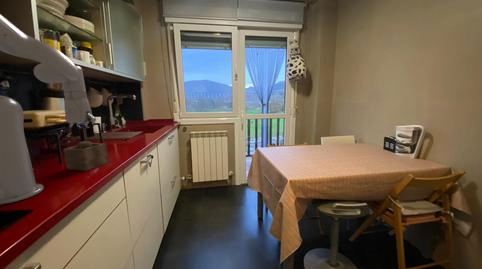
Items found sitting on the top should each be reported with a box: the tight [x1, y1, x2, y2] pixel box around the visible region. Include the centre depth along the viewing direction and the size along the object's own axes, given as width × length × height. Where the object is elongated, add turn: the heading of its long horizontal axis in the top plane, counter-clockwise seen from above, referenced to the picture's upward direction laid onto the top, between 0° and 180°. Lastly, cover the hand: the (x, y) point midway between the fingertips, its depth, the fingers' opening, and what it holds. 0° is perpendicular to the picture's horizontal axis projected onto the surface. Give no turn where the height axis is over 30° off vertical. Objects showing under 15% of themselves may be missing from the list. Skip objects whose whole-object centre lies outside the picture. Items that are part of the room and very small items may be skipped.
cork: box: [77, 140, 93, 149], centre depth 94 cm, size 6×6×11 cm
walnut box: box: [62, 142, 110, 172], centre depth 96 cm, size 11×11×9 cm
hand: (83, 136), depth 94 cm, fingers open, 7 cm apart
